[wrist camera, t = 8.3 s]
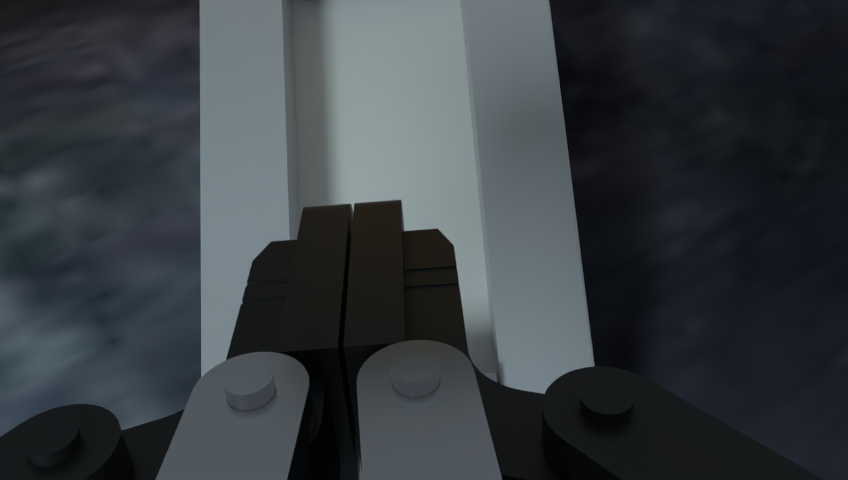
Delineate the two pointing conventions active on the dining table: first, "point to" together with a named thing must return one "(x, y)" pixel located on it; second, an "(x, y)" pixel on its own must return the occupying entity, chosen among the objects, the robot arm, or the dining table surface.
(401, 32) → the base
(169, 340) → the dining table surface
